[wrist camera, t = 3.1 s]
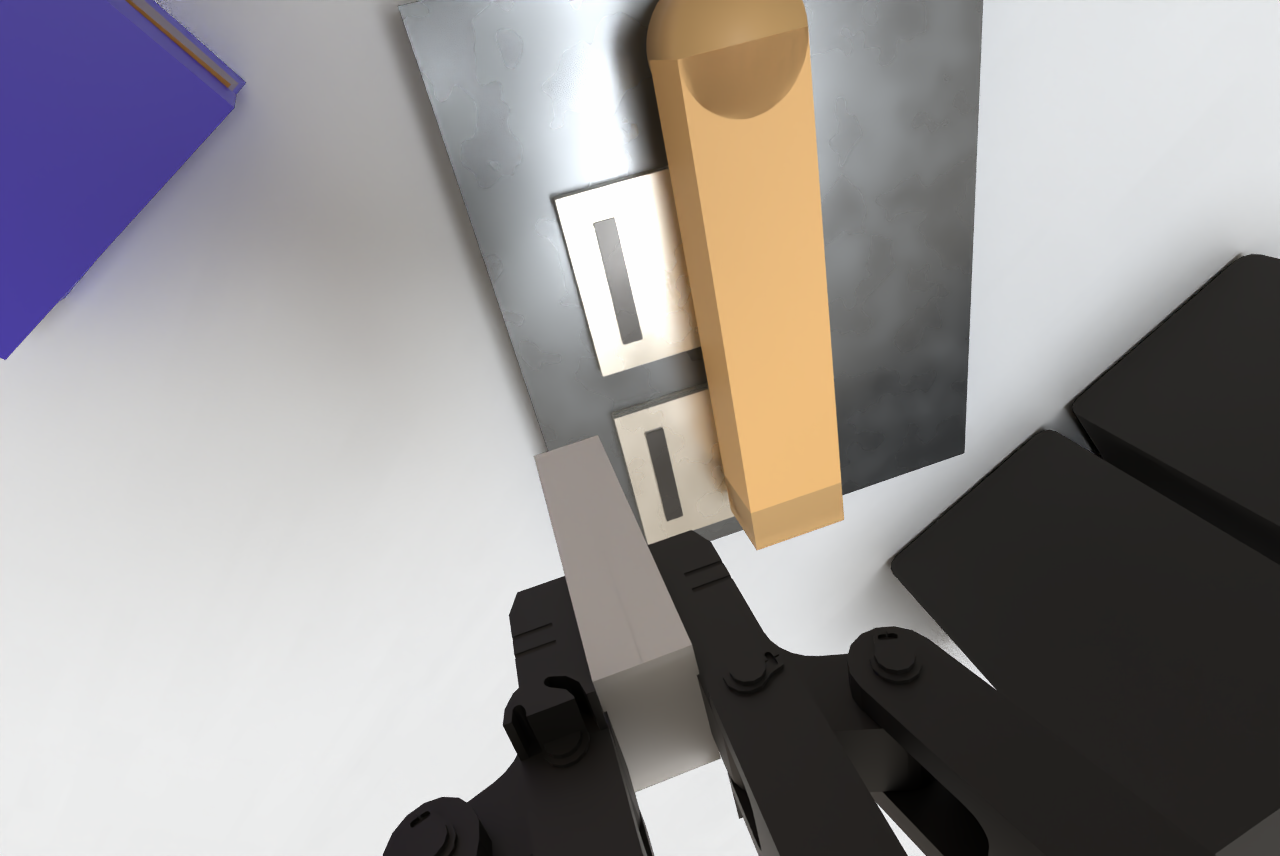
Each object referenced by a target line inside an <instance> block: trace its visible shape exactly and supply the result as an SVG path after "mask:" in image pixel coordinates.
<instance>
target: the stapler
mask: <svg viewBox="0 0 1280 856" xmlns="http://www.w3.org/2000/svg"><path fill="white" fill-rule="evenodd" d="M245 83H246V82H245V81H244V80H242V79H241V78H240V77H239V76H238V75H237V74H236V73H235V72H233V71H232V70H231V69H230V68H229V67H228V66H227V65H226V64H224V63H223V62H222V61H221V60H220V59H219V58H218V57H217V56H215V55H214V54H213V53H212V52H211V51H210V50H209V49H208V48H206V47H205V46H204V45H203V44H202V43H201V42H200V41H199V40H197V39H196V38H195V37H194V36H193V35H192V34H191V33H190V32H188V31H187V30H186V29H185V28H184V27H183V26H182V25H181V24H179V23H178V22H177V21H176V20H175V19H174V18H173V17H172V16H170V15H169V14H168V13H167V12H166V11H165V10H164V9H163V8H161V7H160V6H159V5H158V4H157V3H156V2H155V1H154V0H0V358H2V359H4V360H6V359H7V358H8V357H9V355H10V354H11V353H12V352H13V351H14V350H15V349H16V348H17V347H18V346H19V344H20V343H21V342H22V341H23V340H24V339H25V338H26V337H27V336H28V335H29V333H30V332H31V331H32V330H33V329H34V328H35V327H36V326H37V325H38V324H39V322H40V321H41V320H42V319H43V318H44V317H45V316H46V315H47V314H48V313H49V311H50V310H51V309H52V308H53V307H54V306H55V305H56V304H57V303H58V302H59V301H60V300H62V299H64V298H65V297H66V296H67V294H68V293H69V292H70V291H71V290H72V288H73V287H74V286H75V285H76V284H77V282H78V281H79V280H80V279H81V278H82V277H83V275H84V274H85V273H86V272H87V271H88V269H89V268H90V267H91V266H92V265H93V264H94V262H95V261H96V260H97V259H98V258H99V256H100V255H101V254H102V253H103V252H104V251H105V250H106V249H107V248H108V246H109V245H110V244H111V243H112V242H113V241H114V240H115V239H116V238H117V236H118V235H119V234H120V233H121V232H122V231H123V230H124V229H125V228H126V227H127V225H128V224H129V223H130V222H131V221H132V220H133V219H134V218H135V217H136V216H137V214H138V213H139V212H140V211H141V210H142V209H143V208H144V207H145V206H146V205H147V203H148V202H149V201H150V200H151V199H152V198H153V197H154V196H155V195H156V194H157V192H158V191H159V190H160V189H161V188H162V187H163V186H164V185H165V184H166V183H167V181H168V180H169V179H170V178H171V177H172V176H173V175H174V174H175V173H176V171H177V170H178V169H179V168H180V167H181V166H182V165H183V164H184V163H185V162H186V160H187V159H188V158H189V157H190V156H191V155H192V154H193V153H194V152H195V151H196V149H197V148H198V147H199V146H200V145H201V144H202V143H203V142H204V141H205V140H206V138H207V137H208V136H209V135H210V134H211V133H212V132H213V131H214V130H215V129H216V127H217V126H218V125H219V124H220V123H221V122H222V121H223V120H224V119H225V118H226V116H227V115H228V114H229V113H230V112H231V111H232V110H233V109H234V108H235V100H236V94H237V93H238V92H239V91H240V89H241V88H242V87H243V86H244V85H245Z"/></svg>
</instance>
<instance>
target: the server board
mask: <svg viewBox="0 0 1280 856" xmlns="http://www.w3.org/2000/svg"><path fill="white" fill-rule="evenodd" d="M658 1H659V0H421V1H417V2H413V3H408V4H404V5H400V6H398V8H399V11H400V14H401V17H402V20H403V23H404V26H405V28H406V31H407V34H408V37H409V40H410V43H411V46H412V49H413V52H414V55H415V58H416V61H417V64H418V67H419V70H420V73H421V76H422V79H423V82H424V85H425V88H426V91H427V94H428V97H429V100H430V103H431V106H432V108H433V111H434V114H435V117H436V120H437V123H438V126H439V129H440V132H441V135H442V138H443V141H444V144H445V147H446V150H447V153H448V156H449V159H450V162H451V165H452V168H453V171H454V174H455V177H456V180H457V183H458V185H459V188H460V191H461V194H462V197H463V200H464V203H465V206H466V209H467V212H468V215H469V218H470V221H471V224H472V227H473V230H474V233H475V236H476V239H477V242H478V245H479V248H480V251H481V254H482V257H483V260H484V262H485V265H486V268H487V271H488V274H489V277H490V280H491V283H492V286H493V289H494V292H495V295H496V298H497V301H498V304H499V307H500V310H501V313H502V316H503V319H504V322H505V325H506V328H507V331H508V334H509V337H510V340H511V342H512V345H513V348H514V351H515V354H516V357H517V360H518V363H519V366H520V369H521V372H522V375H523V378H524V381H525V384H526V387H527V390H528V393H529V396H530V399H531V402H532V405H533V408H534V411H535V414H536V417H537V419H538V422H539V425H540V428H541V431H542V434H543V437H544V440H545V443H546V446H547V449H548V451H551V450H554V449H557V448H560V447H563V446H566V445H569V444H572V443H575V442H579V441H582V440H585V439H588V438H591V437H594V436H597V435H598V436H599V439H600V441H601V443H602V445H603V448H604V450H605V452H606V454H607V456H608V459H609V461H610V463H611V465H612V468H613V470H614V472H615V474H616V477H617V479H618V481H619V483H620V485H621V488H622V490H623V492H624V494H625V497H626V499H627V501H628V503H629V505H630V508H631V510H632V512H633V514H634V517H635V519H636V521H637V523H638V525H639V528H640V530H641V532H642V534H643V537H644V539H645V541H646V543H647V545H649V544H652V543H655V542H658V541H661V540H664V539H667V538H669V537H672V536H675V535H678V534H681V533H684V532H686V531H689V530H693V531H694V532H696V533H698V534H699V535H701V536H702V537H704V538H705V539H707V540H709V541H712V540H715V539H718V538H721V537H723V536H726V535H729V534H732V533H735V532H738V531H741V530H743V528H742V527H741V525H740V524H739V522H738V520H737V519H736V517H735V516H734V514H733V513H732V511H731V508H730V503H729V497H728V492H727V486H726V481H725V475H724V470H723V464H722V459H721V453H720V448H719V442H718V437H717V431H716V426H715V420H714V414H713V409H712V403H711V398H710V392H709V387H708V381H707V376H706V370H705V365H704V359H703V354H702V348H701V343H700V337H699V332H698V326H697V321H696V315H695V310H694V304H693V299H692V293H691V287H690V282H689V276H688V271H687V265H686V260H685V254H684V249H683V243H682V238H681V232H680V227H679V221H678V216H677V210H676V205H675V199H674V194H673V188H672V183H671V177H670V172H669V166H668V160H667V155H666V149H665V144H664V138H663V133H662V127H661V122H660V116H659V111H658V105H657V100H656V94H655V89H654V83H653V78H652V73H651V71H650V68H649V63H648V59H647V49H646V40H647V31H648V26H649V22H650V19H651V16H652V13H653V11H654V9H655V7H656V5H657V3H658ZM802 1H803V3H804V6H805V10H806V15H807V21H808V32H809V46H810V59H811V73H812V87H813V100H814V114H815V128H816V142H817V155H818V169H819V183H820V197H821V210H822V224H823V238H824V251H825V265H826V279H827V293H828V306H829V320H830V334H831V348H832V361H833V375H834V389H835V402H836V416H837V430H838V444H839V457H840V471H841V485H842V495H845V494H848V493H850V492H853V491H856V490H859V489H862V488H865V487H868V486H871V485H873V484H876V483H879V482H882V481H885V480H888V479H891V478H894V477H897V476H899V475H902V474H905V473H908V472H911V471H914V470H917V469H920V468H923V467H925V466H928V465H931V464H934V463H937V462H940V461H943V460H946V459H948V458H951V457H954V456H957V455H960V454H963V453H964V450H965V426H966V402H967V378H968V354H969V329H970V305H971V281H972V257H973V233H974V208H975V184H976V160H977V136H978V112H979V87H980V63H981V39H982V15H983V0H802Z"/></svg>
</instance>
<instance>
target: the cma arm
mask: <svg viewBox="0 0 1280 856" xmlns="http://www.w3.org/2000/svg"><path fill="white" fill-rule="evenodd" d="M646 49H647V59H648V63H649V68H650V71H651V73H652V78H653V83H654V89H655V94H656V100H657V105H658V111H659V116H660V122H661V127H662V133H663V138H664V144H665V149H666V155H667V160H668V166H669V172H670V177H671V183H672V188H673V194H674V199H675V205H676V210H677V216H678V221H679V227H680V232H681V238H682V243H683V249H684V254H685V260H686V265H687V271H688V276H689V282H690V287H691V293H692V299H693V304H694V310H695V315H696V321H697V326H698V332H699V337H700V343H701V348H702V354H703V359H704V365H705V370H706V376H707V381H708V387H709V392H710V398H711V403H712V409H713V414H714V420H715V426H716V431H717V437H718V442H719V448H720V453H721V459H722V464H723V470H724V475H725V481H726V486H727V492H728V497H729V503H730V508H731V511H732V513H733V514H734V516H735V517H736V519H737V520H738V522H739V524H740V525H741V527H742V528H743V530H744V531H745V533H746V534H747V536H748V537H749V539H750V540H751V542H752V544H753V545H754V547H755V548H756V550H759V549H762V548H765V547H768V546H771V545H774V544H776V543H779V542H782V541H785V540H788V539H791V538H794V537H796V536H799V535H802V534H805V533H808V532H811V531H813V530H816V529H819V528H822V527H825V526H828V525H831V524H833V523H836V522H839V521H842V520H844V512H843V499H842V485H841V471H840V457H839V444H838V430H837V416H836V402H835V389H834V375H833V361H832V348H831V334H830V320H829V306H828V293H827V279H826V265H825V251H824V238H823V224H822V210H821V197H820V183H819V169H818V155H817V142H816V128H815V114H814V100H813V87H812V73H811V59H810V46H809V32H808V21H807V15H806V10H805V6H804V3H803V1H802V0H659V1H658V3H657V5H656V7H655V9H654V11H653V13H652V16H651V19H650V22H649V26H648V31H647V40H646Z"/></svg>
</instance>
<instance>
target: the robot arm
mask: <svg viewBox="0 0 1280 856" xmlns="http://www.w3.org/2000/svg"><path fill="white" fill-rule="evenodd" d="M534 458H535V462H536V466H537V469H538V473H539V477H540V481H541V485H542V489H543V493H544V496H545V500H546V504H547V508H548V512H549V516H550V520H551V524H552V527H553V531H554V535H555V539H556V543H557V547H558V551H559V554H560V558H561V562H562V566H563V570H564V574H565V576H563V577H560V578H558V579H555V580H552V581H549V582H546V583H543V584H540V585H538V586H535V587H532V588H529V589H526V590H523V591H520V592H518V593H517V595H516V597H515V600H514V603H513V606H512V609H511V611H510V614H509V618H510V625H511V633H512V638H513V647H514V655H515V658H516V659H515V662H516V669H517V676H518V684H519V688H518V689H517V690H516V691H515V692H514V693H513V695H512V697H511V699H510V700H509V702H508V704H507V706H506V708H505V711H504V720H503V727H504V729H505V731H506V733H507V735H508V737H509V739H510V741H511V743H512V745H513V747H514V749H515V751H516V753H517V756H516V758H515V760H514V762H513V763H512V764H511V766H510V767H509V768H508V769H507V771H506V772H505V773H504V774H503V775H502V776H501V777H500V778H498V779H497V780H496V781H495V782H494V783H493V784H491V785H490V786H489V787H487V788H486V789H485V790H483V791H482V792H481V793H479V794H478V795H477V796H475V797H474V798H473V799H471V800H470V801H469V802H467V803H466V802H465V801H463V800H461V799H460V798H453V797H441V798H438V799H435V800H432V801H429V802H426V803H424V804H422V805H421V806H420V807H418V808H417V809H415V810H414V811H413V812H411V813H410V814H408V815H407V816H406V817H405V818H404V820H403V821H402V822H401V823H400V825H399V826H398V827H397V828H396V829H395V831H394V832H393V833H392V835H391V838H390V840H389V842H388V844H387V846H386V849H385V851H384V853H383V856H654V853H653V850H652V846H651V843H650V839H649V836H648V832H647V829H646V825H645V823H644V820H643V817H642V815H641V812H640V810H639V806H638V803H637V799H636V795H635V792H637V791H640V790H642V789H645V788H647V787H650V786H652V785H655V784H657V783H660V782H662V781H665V780H667V779H670V778H672V777H675V776H678V775H680V774H683V773H685V772H688V771H690V770H693V769H695V768H698V767H700V766H703V765H705V764H708V763H710V762H713V761H715V760H718V759H720V758H721V757H722V760H723V762H724V764H725V767H726V769H727V771H728V775H729V779H730V783H731V788H732V792H733V796H734V800H735V804H736V808H737V812H738V816H739V819H740V818H742V817H743V818H744V821H745V823H746V826H747V828H748V831H749V833H750V835H751V838H752V840H753V843H754V845H755V848H756V850H757V852H758V855H759V856H908V855H907V854H906V852H905V850H904V849H903V847H902V845H901V844H900V842H899V840H898V839H897V837H896V835H895V834H894V832H893V830H892V829H891V827H890V825H889V824H888V822H887V820H886V819H885V817H884V815H883V814H882V812H881V810H880V809H879V807H878V805H879V806H880V807H881V808H882V809H883V810H884V811H885V812H886V813H887V814H888V815H889V817H890V818H891V819H892V820H893V821H894V822H895V823H896V824H897V825H898V826H899V827H900V828H901V829H902V830H903V832H904V833H905V834H906V835H907V836H908V837H909V838H910V839H911V840H912V841H913V842H914V843H915V844H916V845H917V846H918V848H919V849H920V850H921V851H922V852H923V853H924V854H925V855H926V856H1216V855H1215V854H1213V853H1212V852H1211V851H1209V850H1208V849H1207V848H1205V847H1204V846H1203V845H1201V844H1200V843H1199V842H1197V841H1196V840H1195V839H1193V838H1192V837H1191V836H1189V835H1188V834H1187V833H1185V832H1184V831H1183V830H1181V829H1180V828H1179V827H1177V826H1176V825H1175V824H1173V823H1172V822H1171V821H1169V820H1168V819H1167V818H1166V817H1164V816H1163V815H1162V814H1160V813H1159V812H1158V811H1156V810H1155V809H1154V808H1152V807H1151V806H1150V805H1148V804H1147V803H1146V802H1144V801H1143V800H1142V799H1140V798H1139V797H1138V796H1136V795H1135V794H1134V793H1132V792H1131V791H1130V790H1128V789H1127V788H1126V787H1124V786H1123V785H1122V784H1120V783H1119V782H1118V781H1116V780H1115V779H1114V778H1112V777H1111V776H1110V775H1108V774H1107V773H1106V772H1104V771H1103V770H1102V769H1100V768H1099V767H1098V766H1096V765H1095V764H1094V763H1092V762H1091V761H1090V760H1088V759H1087V758H1086V757H1084V756H1083V755H1082V754H1080V753H1079V752H1078V751H1077V750H1075V749H1074V748H1073V747H1071V746H1070V745H1069V744H1067V743H1066V742H1065V741H1063V740H1062V739H1061V738H1059V737H1058V736H1057V735H1055V734H1054V733H1053V732H1051V731H1050V730H1049V729H1047V728H1046V727H1045V726H1043V725H1042V724H1041V723H1039V722H1038V721H1037V720H1035V719H1034V718H1033V717H1031V716H1030V715H1029V714H1027V713H1026V712H1025V711H1023V710H1022V709H1021V708H1019V707H1018V706H1017V705H1015V704H1014V703H1013V702H1011V701H1010V700H1009V699H1007V698H1006V697H1005V696H1003V695H1002V694H1001V693H999V692H998V691H997V690H995V689H994V688H993V687H991V686H990V685H989V684H988V683H986V682H985V681H984V680H982V679H981V678H980V677H978V676H977V675H976V674H974V673H973V672H972V671H970V670H969V669H968V668H966V667H965V666H964V665H962V664H961V663H960V662H958V661H957V660H956V659H954V658H953V657H952V656H950V655H949V654H948V653H946V652H945V651H944V650H942V649H941V648H940V647H938V646H937V645H936V644H934V643H933V642H932V641H930V640H929V639H928V638H926V637H924V636H922V635H920V634H918V633H916V632H914V631H913V630H909V629H904V628H899V627H894V626H893V627H881V628H875V629H872V630H870V631H868V632H865V633H863V634H861V635H860V636H859V637H858V638H857V639H856V640H855V641H854V642H853V643H852V644H851V646H850V650H849V653H848V654H840V655H827V656H804V655H799V654H794V653H791V652H789V651H786V650H784V649H782V648H780V647H778V646H777V645H776V644H774V643H773V642H772V641H770V639H769V638H768V637H767V636H766V634H765V633H764V632H763V630H762V628H761V627H760V625H759V623H758V622H757V620H756V618H755V616H754V615H753V613H752V611H751V610H750V608H749V606H748V604H747V603H746V601H745V599H744V598H743V596H742V594H741V593H740V591H739V589H738V587H737V586H736V584H735V582H734V581H733V579H731V576H730V574H729V572H728V570H727V569H726V567H725V565H724V564H723V563H722V560H721V558H720V557H719V555H718V553H717V552H716V550H715V548H714V547H713V545H712V543H711V542H710V541H709V540H707V539H705V538H704V537H702V536H701V535H699V534H698V533H696V532H694V531H693V530H689V531H686V532H684V533H681V534H678V535H675V536H672V537H669V538H667V539H664V540H661V541H658V542H655V543H652V544H649V545H647V543H646V541H645V539H644V537H643V534H642V532H641V530H640V528H639V525H638V523H637V521H636V519H635V517H634V514H633V512H632V510H631V508H630V505H629V503H628V501H627V499H626V497H625V494H624V492H623V490H622V488H621V485H620V483H619V481H618V479H617V477H616V474H615V472H614V470H613V468H612V465H611V463H610V461H609V459H608V456H607V454H606V452H605V450H604V448H603V445H602V443H601V441H600V439H599V436H598V435H597V436H594V437H591V438H588V439H585V440H582V441H579V442H575V443H572V444H569V445H566V446H563V447H560V448H557V449H554V450H551V451H548V452H545V453H542V454H539V455H536V456H534ZM719 752H720V753H719ZM720 755H721V757H720ZM876 803H877V804H878V805H877V804H876Z"/></svg>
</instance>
